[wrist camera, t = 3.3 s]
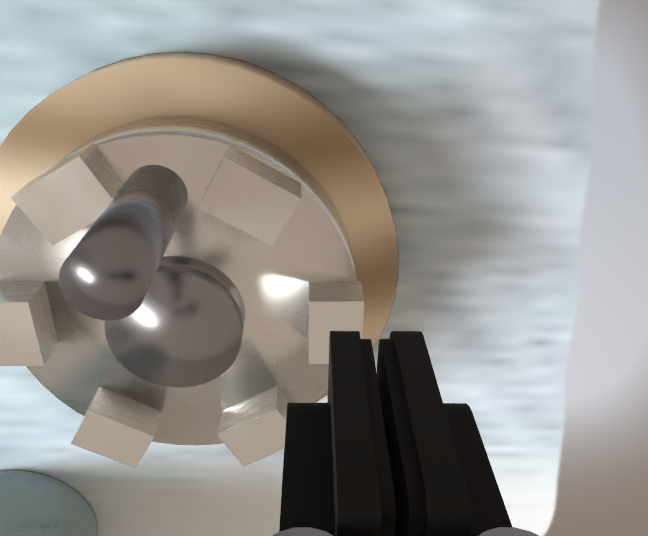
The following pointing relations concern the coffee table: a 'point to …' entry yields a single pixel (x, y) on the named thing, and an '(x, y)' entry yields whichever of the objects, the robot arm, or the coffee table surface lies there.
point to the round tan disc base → (232, 109)
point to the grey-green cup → (42, 507)
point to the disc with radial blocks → (176, 287)
